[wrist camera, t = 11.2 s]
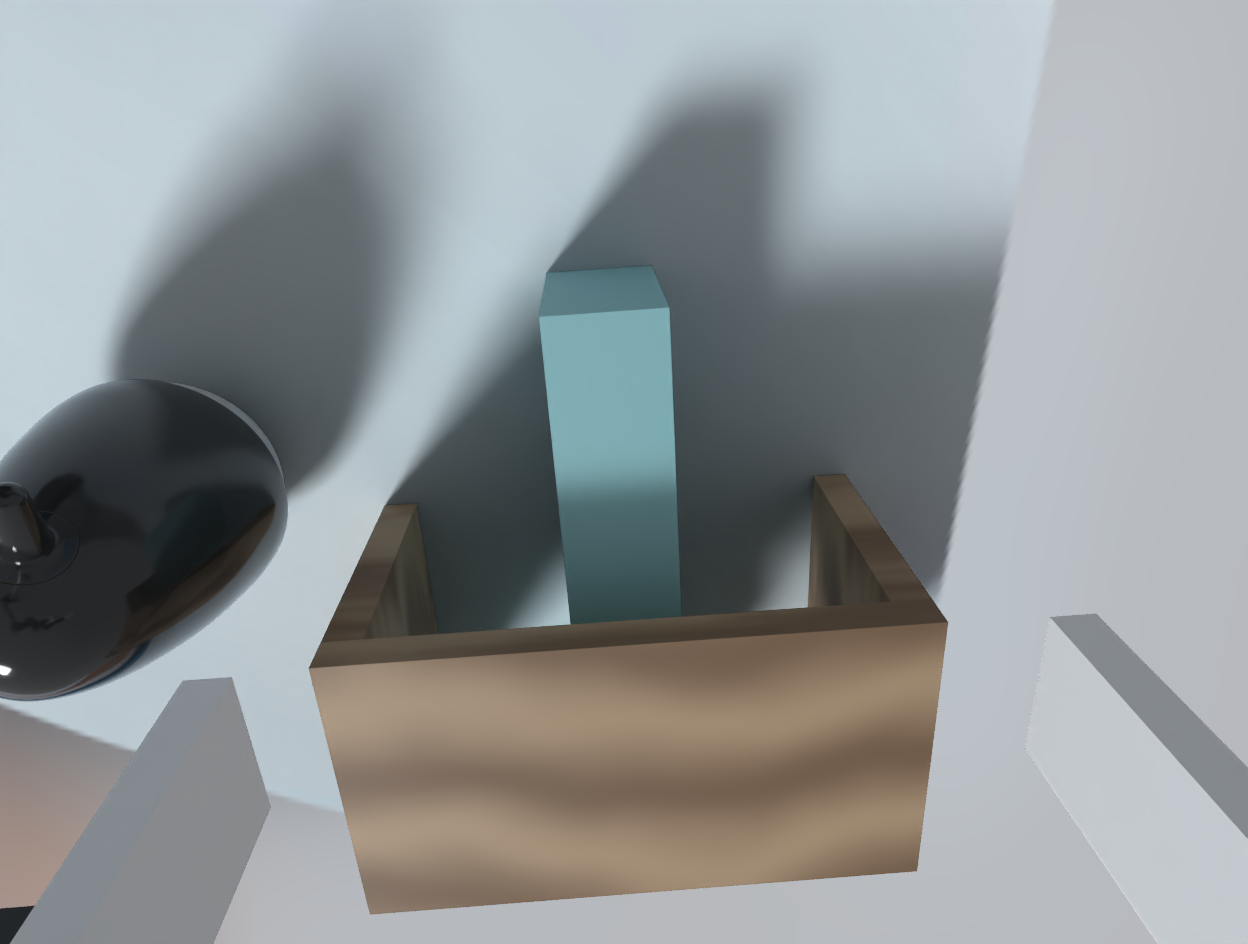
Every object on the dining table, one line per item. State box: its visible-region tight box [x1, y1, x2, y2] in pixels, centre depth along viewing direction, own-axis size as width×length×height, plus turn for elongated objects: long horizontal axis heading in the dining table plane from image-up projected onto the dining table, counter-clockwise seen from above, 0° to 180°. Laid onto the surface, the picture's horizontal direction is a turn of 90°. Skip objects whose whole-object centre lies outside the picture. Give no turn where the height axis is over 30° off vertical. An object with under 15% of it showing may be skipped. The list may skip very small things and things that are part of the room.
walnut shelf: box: [309, 474, 948, 914], centre depth 37 cm, size 12×22×12 cm, turn 93°
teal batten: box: [539, 265, 682, 624], centre depth 38 cm, size 23×4×8 cm, turn 3°
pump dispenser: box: [0, 379, 288, 701], centre depth 32 cm, size 10×10×15 cm
